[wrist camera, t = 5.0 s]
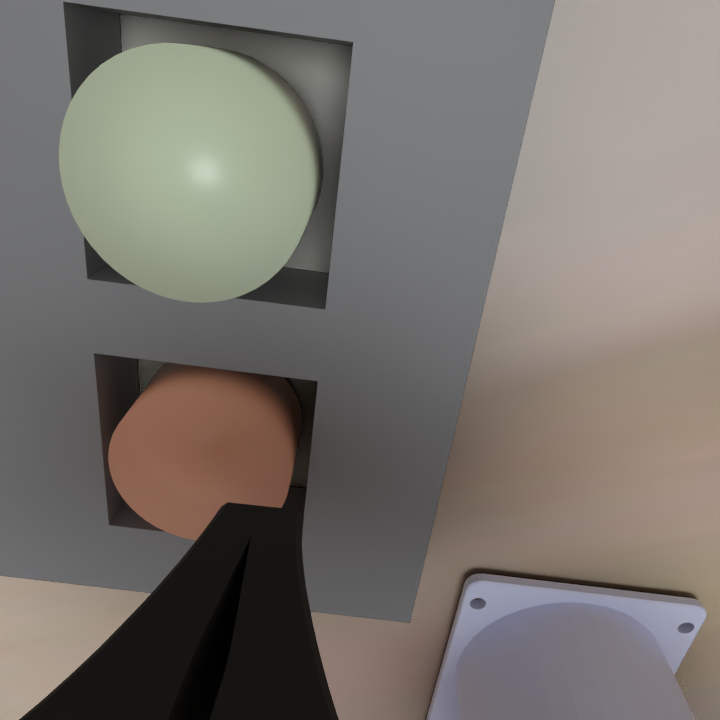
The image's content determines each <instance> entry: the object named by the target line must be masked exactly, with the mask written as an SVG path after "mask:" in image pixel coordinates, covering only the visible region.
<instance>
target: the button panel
mask: <svg viewBox="0 0 720 720" xmlns="http://www.w3.org/2000/svg"><path fill="white" fill-rule="evenodd" d="M554 3H555V0H0V576H7V577H16V578H25V579H33V580H42V581H51V582H59V583H68V584H77V585H85V586H94V587H103V588H111V589H120V590H129V591H137V592H146V593H152V592H153V591H154V590H155V589H156V588H157V586H158V585H159V584H160V583H161V582H162V581H163V580H164V578H165V577H166V576H167V575H168V574H169V573H170V572H171V570H172V569H173V568H174V567H175V566H176V565H177V563H178V562H179V561H180V560H181V559H182V557H183V556H184V555H185V554H186V553H187V551H188V550H189V549H190V548H191V546H192V545H193V544H194V543H195V541H196V540H191V539H186V538H183V537H179V536H176V535H173V534H170V533H168V532H165V531H163V530H161V529H159V528H157V527H155V526H154V525H152V524H150V523H149V522H147V521H146V520H144V519H143V518H142V517H141V516H139V515H138V514H137V513H136V512H135V511H134V510H133V509H132V508H131V507H130V506H129V505H128V504H127V503H126V502H125V500H124V499H123V498H122V496H121V495H120V493H119V492H118V490H117V488H116V486H115V484H114V482H113V479H112V476H111V473H110V469H109V463H108V451H109V445H110V441H111V438H112V435H113V433H114V431H115V429H116V427H117V426H118V424H119V423H120V421H121V420H122V419H123V417H124V416H125V415H126V413H127V412H128V411H129V409H130V408H131V407H132V405H133V404H134V403H135V401H136V400H137V399H138V397H139V387H138V367H137V359H144V360H152V361H160V362H168V363H176V364H184V365H192V366H200V367H208V368H216V369H224V370H232V371H240V372H248V373H256V374H264V375H272V376H280V377H288V378H296V379H304V380H312V381H318V385H317V394H316V404H315V414H314V423H313V433H312V442H311V452H310V461H309V471H308V481H307V489H306V488H298V487H289V490H288V494H287V497H286V500H285V502H284V504H283V506H282V508H286V509H295V510H299V511H300V512H301V513H302V514H303V515H304V522H303V534H302V556H303V567H304V576H305V583H306V590H307V595H308V601H309V606H310V611H311V612H320V613H328V614H337V615H346V616H354V617H363V618H372V619H380V620H389V621H398V622H406V623H410V621H411V617H412V612H413V608H414V604H415V599H416V595H417V591H418V587H419V582H420V578H421V574H422V569H423V565H424V561H425V557H426V552H427V548H428V544H429V539H430V535H431V531H432V527H433V522H434V518H435V514H436V509H437V505H438V501H439V496H440V492H441V488H442V484H443V479H444V475H445V471H446V466H447V462H448V458H449V454H450V449H451V445H452V441H453V436H454V432H455V428H456V424H457V419H458V415H459V411H460V406H461V402H462V398H463V394H464V389H465V385H466V381H467V376H468V372H469V368H470V363H471V359H472V355H473V351H474V346H475V342H476V338H477V333H478V329H479V325H480V321H481V316H482V312H483V308H484V303H485V299H486V295H487V291H488V286H489V282H490V278H491V273H492V269H493V265H494V261H495V256H496V252H497V248H498V243H499V239H500V235H501V231H502V226H503V222H504V218H505V213H506V209H507V205H508V200H509V196H510V192H511V188H512V183H513V179H514V175H515V170H516V166H517V162H518V158H519V153H520V149H521V145H522V140H523V136H524V132H525V128H526V123H527V119H528V115H529V110H530V106H531V102H532V98H533V93H534V89H535V85H536V80H537V76H538V72H539V68H540V63H541V59H542V55H543V50H544V46H545V42H546V37H547V33H548V29H549V25H550V20H551V16H552V12H553V7H554ZM119 14H126V15H133V16H141V17H148V18H155V19H162V20H169V21H177V22H184V23H191V24H198V25H205V26H212V27H220V28H227V29H234V30H241V31H248V32H256V33H263V34H270V35H277V36H284V37H291V38H299V39H306V40H313V41H320V42H327V43H335V44H342V45H349V46H353V50H352V59H351V69H350V79H349V88H348V98H347V107H346V117H345V126H344V136H343V146H342V155H341V165H340V174H339V184H338V193H337V203H336V213H335V222H334V232H333V241H332V251H331V260H330V270H329V273H322V272H314V271H306V270H299V269H291V268H283V267H282V268H281V269H280V271H279V272H277V273H276V274H275V275H274V276H273V277H272V278H271V279H270V280H269V281H267V282H266V283H264V284H263V285H261V286H260V287H258V288H257V289H255V290H253V291H250V292H248V293H246V294H244V295H242V296H238V297H235V298H232V299H229V300H224V301H218V302H206V303H197V302H185V301H179V300H174V299H170V298H167V297H163V296H160V295H157V294H155V293H152V292H150V291H148V290H145V289H143V288H141V287H139V286H138V285H136V284H134V283H133V282H131V281H129V280H128V279H126V278H125V277H123V276H122V275H121V274H119V273H118V272H117V271H115V270H114V269H113V268H112V267H111V266H110V265H109V264H108V263H106V262H105V261H104V260H103V259H102V258H101V257H100V255H99V254H98V253H97V252H96V251H95V250H94V249H93V247H92V246H91V245H90V243H89V242H88V241H87V239H86V238H85V236H84V235H83V234H82V232H81V230H80V228H79V227H78V225H77V223H76V221H75V219H74V218H73V215H72V213H71V211H70V208H69V206H68V203H67V201H66V197H65V194H64V190H63V187H62V182H61V176H60V169H59V143H60V134H61V129H62V125H63V121H64V117H65V115H66V112H67V109H68V107H69V104H70V102H71V100H72V99H73V97H74V95H75V93H76V92H77V90H78V88H79V87H80V86H81V85H82V83H83V82H84V81H85V80H86V78H87V77H88V76H89V75H90V74H91V73H92V72H93V71H94V70H95V69H97V68H98V67H99V66H100V65H101V64H103V63H104V62H106V61H107V60H109V59H110V58H112V57H114V56H115V55H117V54H120V53H121V35H120V16H119Z"/></svg>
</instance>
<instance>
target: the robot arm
mask: <svg viewBox="0 0 720 720" xmlns="http://www.w3.org/2000/svg"><path fill="white" fill-rule="evenodd" d="M303 522H304V515H303V514H302V513H301V512H300V511H299V510H295V509H286V508H276V507H267V506H258V505H248V504H239V503H230V502H227V503H226V504H224V505H223V506H221V508H220V509H219V510H218V512H217V513H216V515H215V516H214V518H213V519H212V520H211V522H210V523H209V524H208V526H207V527H206V528H205V530H204V531H203V532H202V534H201V535H200V536H199V538H198V539H197V540H196V541H195V543H194V544H193V545H192V546H191V548H190V549H189V550H188V551H187V553H186V554H185V555H184V556H183V557H182V559H181V560H180V561H179V562H178V563H177V565H176V566H175V567H174V568H173V569H172V570H171V572H170V573H169V574H168V575H167V576H166V577H165V578H164V580H163V581H162V582H161V583H160V584H159V585H158V586H157V588H156V589H155V590H154V591H153V592H152V593H151V594H150V596H149V597H148V598H147V599H146V600H145V601H144V602H143V603H142V604H141V605H140V606H139V607H138V608H137V609H136V611H135V612H134V613H133V614H132V615H131V616H130V617H129V618H128V619H127V620H126V621H125V622H124V623H123V624H122V625H121V626H120V627H119V628H118V629H117V630H116V631H115V632H114V633H113V634H112V635H111V636H110V637H109V639H108V640H107V641H106V642H105V643H104V644H103V645H102V646H101V647H99V648H98V649H97V650H96V651H95V652H94V653H93V654H92V655H91V656H90V657H89V658H88V659H87V660H86V661H85V662H84V663H83V664H82V665H81V666H80V667H79V668H77V669H76V670H75V671H74V672H73V673H72V674H71V675H70V676H69V677H68V678H67V679H65V680H64V681H63V682H62V683H61V684H60V685H59V686H58V687H57V688H55V689H54V690H53V691H52V692H51V693H50V694H49V695H48V696H47V697H45V698H44V699H43V700H42V701H41V702H40V703H39V704H37V705H36V706H35V707H34V708H33V709H31V710H30V711H29V712H28V713H27V714H25V715H24V716H23V717H22V718H21V719H19V720H339V719H338V716H337V713H336V710H335V707H334V704H333V700H332V697H331V694H330V690H329V687H328V683H327V680H326V676H325V673H324V669H323V665H322V661H321V657H320V653H319V649H318V645H317V641H316V636H315V632H314V627H313V623H312V617H311V612H310V606H309V601H308V595H307V590H306V583H305V576H304V567H303V556H302V534H303ZM475 598H481V599H479V600H474V599H475ZM706 615H707V613H706V610H705V608H704V607H703V605H702V603H701V602H700V601H698V600H697V599H693V598H686V597H677V596H669V595H660V594H652V593H643V592H635V591H626V590H618V589H610V588H601V587H593V586H584V585H576V584H567V583H559V582H550V581H542V580H533V579H525V578H516V577H508V576H499V575H491V574H474V575H471V576H470V577H469V578H467V579H466V581H465V583H464V587H463V590H462V594H461V597H460V601H459V605H458V608H457V612H456V615H455V619H454V622H453V626H452V630H451V633H450V637H449V640H448V644H447V647H446V651H445V654H444V658H443V662H442V665H441V669H440V672H439V676H438V679H437V683H436V687H435V690H434V694H433V697H432V701H431V704H430V708H429V711H428V715H427V719H426V720H696V719H695V717H694V715H693V713H692V711H691V709H690V707H689V705H688V702H687V700H686V698H685V696H684V694H683V692H682V690H681V688H680V686H679V684H678V682H677V680H676V678H675V675H674V674H675V673H676V671H677V669H678V667H679V665H680V664H681V662H682V660H683V658H684V656H685V655H686V653H687V651H688V649H689V647H690V646H691V644H692V642H693V640H694V638H695V637H696V635H697V633H698V631H699V629H700V628H701V626H702V624H703V622H704V620H705V619H706Z"/></svg>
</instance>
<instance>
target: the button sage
mask: <svg viewBox="0 0 720 720" xmlns="http://www.w3.org/2000/svg"><path fill="white" fill-rule="evenodd" d="M59 169H60V176H61V182H62V187H63V190H64V194H65V197H66V201H67V203H68V206H69V208H70V211H71V213H72V215H73V218H74V219H75V221H76V223H77V225H78V227H79V228H80V230H81V232H82V234H83V235H84V236H85V238H86V239H87V241H88V242H89V243H90V245H91V246H92V247H93V249H94V250H95V251H96V252H97V253H98V254H99V255H100V257H101V258H102V259H103V260H104V261H105V262H106V263H108V264H109V265H110V266H111V267H112V268H113V269H114V270H115V271H117V272H118V273H119V274H121V275H122V276H123V277H125V278H126V279H128V280H129V281H131V282H133V283H134V284H136V285H138V286H139V287H141V288H143V289H145V290H148V291H150V292H152V293H155V294H157V295H160V296H163V297H167V298H170V299H174V300H179V301H185V302H197V303H206V302H218V301H224V300H229V299H232V298H235V297H238V296H242V295H244V294H246V293H248V292H250V291H253V290H255V289H257V288H258V287H260V286H261V285H263V284H264V283H266V282H267V281H269V280H270V279H271V278H272V277H273V276H274V275H275V274H276V273H277V272H279V271H280V269H281V268H282V267H283V266H284V265H285V263H286V262H287V261H288V260H289V258H290V257H291V255H292V254H293V252H294V250H295V249H296V247H297V245H298V243H299V241H300V239H301V237H302V235H303V233H304V231H305V229H306V226H307V224H308V222H309V220H310V218H311V216H312V214H313V212H314V209H315V207H316V205H317V202H318V198H319V195H320V191H321V185H322V179H323V159H322V149H321V145H320V140H319V136H318V133H317V130H316V127H315V124H314V122H313V120H312V118H311V116H310V114H309V112H308V110H307V108H306V106H305V105H304V103H303V102H302V100H301V99H300V97H299V95H298V94H297V93H296V92H295V91H294V90H293V88H292V87H291V86H290V85H289V84H288V83H287V82H286V81H285V80H284V79H283V78H282V77H281V76H280V75H279V74H277V73H276V72H275V71H273V70H272V69H271V68H269V67H268V66H266V65H265V64H263V63H261V62H259V61H257V60H256V59H254V58H252V57H249V56H247V55H244V54H241V53H238V52H235V51H230V50H225V49H220V48H212V47H204V46H196V45H188V44H177V43H157V44H147V45H143V46H139V47H135V48H131V49H129V50H127V51H124V52H122V53H120V54H117V55H115V56H114V57H112V58H110V59H109V60H107V61H106V62H104V63H103V64H101V65H100V66H99V67H98V68H97V69H95V70H94V71H93V72H92V73H91V74H90V75H89V76H88V77H87V78H86V80H85V81H84V82H83V83H82V85H81V86H80V87H79V88H78V90H77V92H76V93H75V95H74V97H73V99H72V100H71V102H70V104H69V107H68V109H67V112H66V115H65V117H64V121H63V125H62V129H61V134H60V143H59Z"/></svg>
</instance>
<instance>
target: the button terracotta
mask: <svg viewBox="0 0 720 720" xmlns="http://www.w3.org/2000/svg"><path fill="white" fill-rule="evenodd" d="M301 431H302V414H301V408H300V405H299V401H298V399H297V397H296V395H295V392H294V391H293V389H292V388H291V386H290V384H289V383H288V382H287V381H286V379H285V378H284V377H280V376H272V375H264V374H256V373H248V372H240V371H232V370H224V369H216V368H208V367H200V366H192V365H184V364H176V363H168V362H167V363H166V364H164V365H163V366H162V367H161V368H160V369H159V371H158V372H157V373H156V374H155V376H154V377H153V378H152V380H151V381H150V382H149V384H148V385H147V386H146V388H145V389H144V390H143V392H142V393H141V395H140V396H139V397H138V399H137V400H136V401H135V403H134V404H133V405H132V407H131V408H130V409H129V411H128V412H127V413H126V415H125V416H124V417H123V419H122V420H121V421H120V423H119V424H118V426H117V427H116V429H115V431H114V433H113V435H112V438H111V441H110V445H109V451H108V463H109V469H110V473H111V476H112V479H113V482H114V484H115V486H116V488H117V490H118V492H119V493H120V495H121V496H122V498H123V499H124V500H125V502H126V503H127V504H128V505H129V506H130V507H131V508H132V509H133V510H134V511H135V512H136V513H137V514H138V515H139V516H141V517H142V518H143V519H144V520H146V521H147V522H149V523H150V524H152V525H154V526H155V527H157V528H159V529H161V530H163V531H165V532H168V533H170V534H173V535H176V536H179V537H183V538H186V539H191V540H197V539H198V538H199V536H200V535H201V534H202V532H203V531H204V530H205V528H206V527H207V526H208V524H209V523H210V522H211V520H212V519H213V518H214V516H215V515H216V513H217V512H218V510H219V509H220V508H221V506H223V505H224V504H226V503H227V502H230V503H239V504H248V505H258V506H267V507H276V508H282V506H283V504H284V502H285V500H286V497H287V494H288V490H289V486H290V481H291V477H292V472H293V468H294V463H295V459H296V454H297V450H298V445H299V441H300V436H301Z"/></svg>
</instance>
